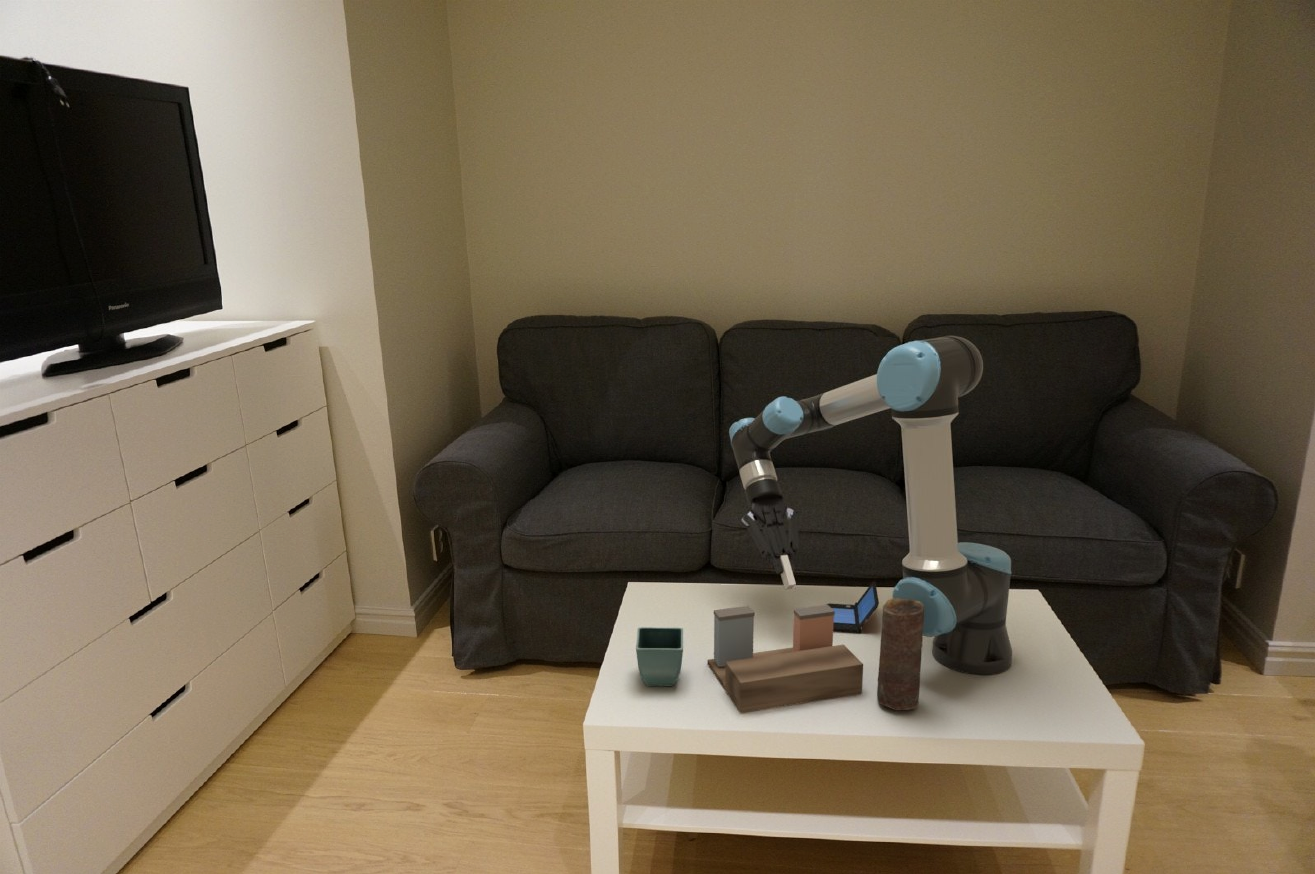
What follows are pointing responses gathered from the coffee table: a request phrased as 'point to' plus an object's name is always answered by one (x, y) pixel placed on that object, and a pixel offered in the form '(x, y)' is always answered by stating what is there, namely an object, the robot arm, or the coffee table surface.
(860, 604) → the handheld game console
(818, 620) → the key terracotta
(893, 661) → the candle
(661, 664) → the flower pot
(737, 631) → the key slate
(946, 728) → the coffee table surface
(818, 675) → the key block
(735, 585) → the coffee table surface
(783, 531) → the robot arm
